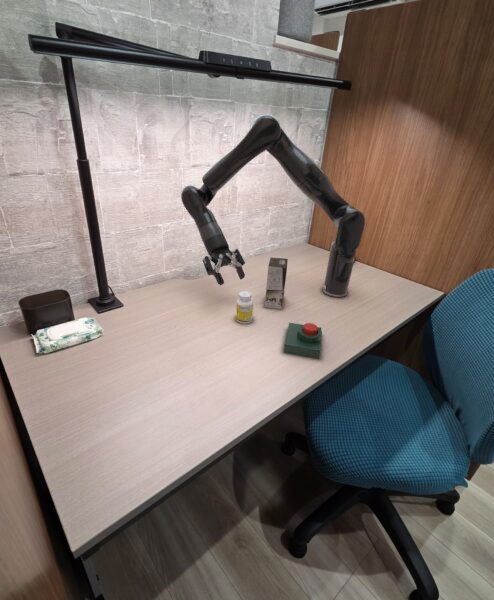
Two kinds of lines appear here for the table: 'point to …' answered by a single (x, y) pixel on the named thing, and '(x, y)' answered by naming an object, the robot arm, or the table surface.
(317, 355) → the console
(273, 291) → the coffee box
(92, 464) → the table surface
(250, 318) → the supplement bottle
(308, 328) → the button
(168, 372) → the table surface
